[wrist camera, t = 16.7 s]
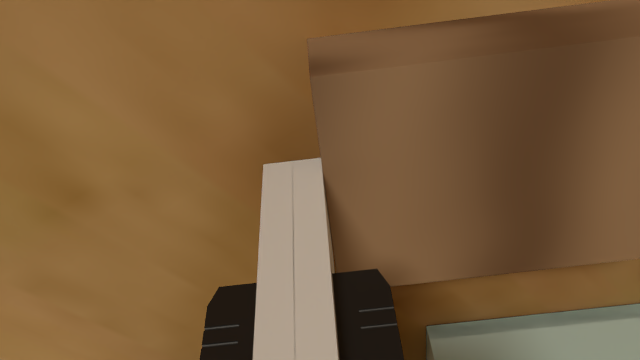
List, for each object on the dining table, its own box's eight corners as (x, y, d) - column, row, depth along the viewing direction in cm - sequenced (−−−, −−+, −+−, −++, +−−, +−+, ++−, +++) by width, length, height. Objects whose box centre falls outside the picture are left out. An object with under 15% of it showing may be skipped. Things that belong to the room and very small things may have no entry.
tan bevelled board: (333, 233, 19) (339, 292, 17) (306, 30, 14) (309, 77, 12) (611, 201, 18) (651, 257, 16) (668, -15, 14) (731, 24, 12)
